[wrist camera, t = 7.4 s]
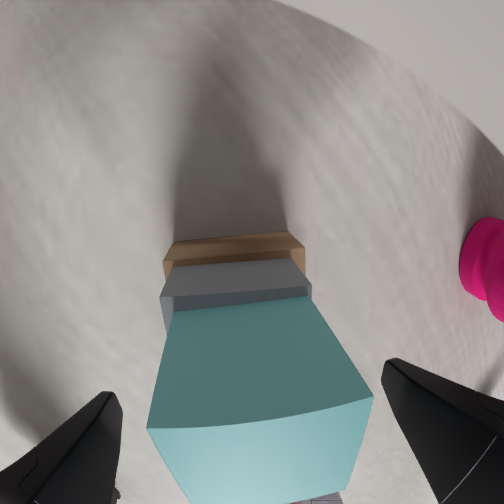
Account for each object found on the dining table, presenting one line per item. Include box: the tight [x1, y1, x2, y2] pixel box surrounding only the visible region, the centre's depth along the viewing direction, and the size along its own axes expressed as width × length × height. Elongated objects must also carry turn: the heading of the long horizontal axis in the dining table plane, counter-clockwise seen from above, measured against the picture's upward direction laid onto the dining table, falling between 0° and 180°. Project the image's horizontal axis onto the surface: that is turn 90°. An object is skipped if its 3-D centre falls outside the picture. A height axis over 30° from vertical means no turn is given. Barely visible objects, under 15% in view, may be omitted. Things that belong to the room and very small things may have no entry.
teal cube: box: [146, 295, 374, 504], centre depth 8 cm, size 4×4×5 cm
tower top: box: [160, 258, 312, 335], centre depth 12 cm, size 5×5×3 cm
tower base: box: [163, 231, 305, 280], centre depth 15 cm, size 6×6×4 cm
